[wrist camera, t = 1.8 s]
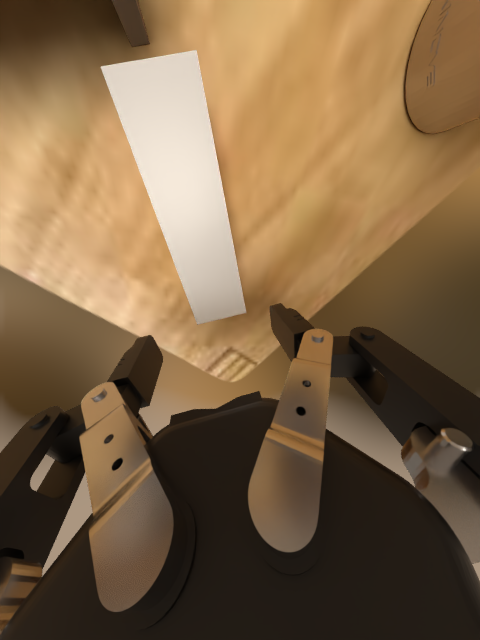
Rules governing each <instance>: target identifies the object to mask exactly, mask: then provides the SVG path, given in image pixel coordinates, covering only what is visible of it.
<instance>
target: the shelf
mask: <svg viewBox="0 0 480 640" xmlns="http://www.w3.org/2000/svg"><path fill="white" fill-rule="evenodd" d="M112 3H113V5H114V7H115V10H116V12H117V14H118V16H119V19H120V21H121V23H122V26H123V28H124V30H125V32H126V35H127V37H128V39H129V42H130V44H131V46H132V47H133V46H139V45H145V44H150V43H149V39H148V36H147V32H146V28H145V24H144V21H143V17H142V13H141V10H140V6H139V2H138V0H112Z"/></svg>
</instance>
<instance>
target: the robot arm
mask: <svg viewBox="0 0 480 640" xmlns="http://www.w3.org/2000/svg"><path fill="white" fill-rule="evenodd" d="M406 103H407V109H408V113H409V115H410V118H411V120H412V122H413V123H414V125H415V126H416V127H417V128H418V129H419V130H421V131H423V132H425V133H432V134H435V133H439V132H443V131H446V130H449V129H451V128H454V127H457V126H459V125H462V124H464V123H467V122H470V121H472V120H475V119H477V118H480V0H432V1H431V3H430V5H429V8H428V10H427V12H426V14H425V16H424V18H423V20H422V22H421V24H420V27H419V30H418V33H417V35H416V38H415V41H414V43H413V47H412V51H411V55H410V59H409V63H408V69H407V77H406ZM270 318H271V327H272V330H273V333H274V335H275V336H276V338H277V339H278V341H279V343H280V344H281V346H282V347H283V349H284V351H285V352H286V354H287V355H288V357H289V359H290V360H291V362H292V363H291V366H290V369H289V372H288V375H287V378H286V382H285V385H284V388H283V391H282V394H281V397H280V400H276V399H271V398H261V395H260V392H259V391H258V392H254V393H251V394H247V395H243V396H240V397H237V398H235V399H233V400H232V401H230V402H228V403H226V404H224V405H222V406H221V407H219V408H216V409H193V410H190V411H186V412H182V413H179V414H175V415H171V420H170V424H169V425H167V426H166V427H164V428H163V429H161V430H160V431H159V432H158V433H156V435H154V436H153V435H152V433H151V432H150V430H149V428H148V427H147V425H146V423H145V421H144V420H143V418H142V417H141V415H140V414H139V413H138V412H139V409H140V408H143V407H146V406H149V405H150V402H151V399H152V395H153V392H154V389H155V386H156V382H157V379H158V376H159V372H160V369H161V366H162V363H163V356H162V353H161V351H160V349H159V347H158V346H157V344H156V342H155V340H154V338H153V337H152V336H151V335H148V336H144V337H140V338H137V340H136V341H135V343H134V345H133V346H132V347H131V348H130V349H129V350H128V351H127V352H126V353H125V354H124V355H123V357H122V359H121V361H120V362H119V363H118V366H116V368H115V370H114V372H113V373H112V374H111V376H110V378H109V379H108V381H107V382H106V383H103V384H101V385H99V386H97V387H95V388H94V389H92V390H91V391H90V392H89V393H88V394H87V395H86V396H85V397H84V398H83V400H82V402H81V404H80V405H78V406H76V407H74V408H72V409H70V410H68V411H66V412H65V411H64V410H63V409H61V408H60V407H58V406H54V407H50V408H48V409H46V410H44V411H42V412H40V413H38V414H37V415H35V416H34V417H33V418H31V419H30V420H29V421H28V422H27V423H26V424H25V425H24V426H23V427H22V428H21V429H20V430H19V432H18V433H17V434H16V435H15V436H14V438H13V439H12V440H11V441H10V442H9V443H8V445H7V446H6V447H5V448H4V449H3V450H2V452H1V453H0V640H480V581H479V579H478V576H477V574H476V572H475V570H474V567H473V565H472V564H474V563H478V562H480V398H479V397H477V396H476V395H474V394H473V393H471V392H470V391H468V390H467V389H465V388H464V387H462V386H461V385H459V384H458V383H456V382H455V381H453V380H452V379H451V378H449V377H448V376H446V375H445V374H443V373H442V372H440V371H439V370H437V369H436V368H434V367H433V366H431V365H430V364H428V363H427V362H425V361H424V360H422V359H421V358H419V357H418V356H416V355H415V354H413V353H412V352H410V351H409V350H407V349H406V348H405V347H403V346H402V345H400V344H398V343H397V342H395V341H394V340H393V339H391V338H390V337H388V336H387V335H385V334H384V333H382V332H381V331H379V330H377V329H374V328H370V327H356V328H354V329H352V330H351V332H350V336H339V337H333V336H332V334H331V333H329V332H328V331H325V330H321V329H315V328H314V327H313V326H312V325H311V324H310V323H309V322H308V321H307V320H306V319H304V317H302V316H301V315H300V314H299V313H298V312H297V311H296V310H293V309H291V308H289V309H286V308H285V307H284V306H283V305H282V304H281V303H279V304H275V305H271V306H270ZM377 370H378V371H379V372H380V373H381V374H382V375H383V376H384V377H385V378H384V377H383V376H382V375H381V374H380V373H379V372H378V371H377ZM330 377H346V378H347V380H348V381H349V382H350V383H351V385H352V386H353V387H354V388H355V389H356V391H357V392H358V393H359V394H360V395H361V397H362V398H363V399H364V400H365V402H366V403H367V404H368V405H369V406H370V408H371V409H372V410H373V411H374V412H375V413H376V415H377V416H378V417H379V419H380V420H381V421H382V422H383V423H384V425H385V426H386V427H387V428H388V429H389V431H390V432H391V433H392V434H393V435H394V437H395V438H396V439H397V440H398V442H399V443H400V444H401V445H402V446H403V447H402V449H401V458H402V460H403V463H404V465H405V467H406V468H407V470H408V472H409V473H410V475H411V477H412V479H413V481H414V484H415V487H414V486H413V485H412V484H410V483H409V482H408V481H406V480H405V479H404V478H402V477H401V476H399V475H398V474H396V473H395V472H393V471H391V470H390V469H388V468H387V467H385V466H383V465H382V464H381V463H379V462H377V461H376V460H374V459H373V458H371V457H369V456H368V455H366V454H365V453H363V452H362V451H360V450H359V449H357V448H356V447H354V446H352V445H351V444H349V443H348V442H346V441H345V440H343V439H341V438H340V437H338V436H337V435H335V434H333V433H332V432H331V431H329V430H327V429H326V418H327V407H328V396H329V385H330ZM45 454H47V455H48V456H50V457H52V458H53V459H55V461H54V463H53V464H52V466H51V468H50V470H49V471H48V473H47V475H46V476H45V478H44V480H43V481H42V483H41V485H40V486H39V488H38V490H37V492H36V491H34V490H32V489H31V487H30V480H31V477H32V475H33V473H34V471H35V470H36V468H37V467H38V465H39V464H40V462H41V461H42V459H43V458H44V456H45ZM85 472H86V477H87V483H88V488H89V494H90V500H91V505H92V511H93V513H92V514H91V515H90V516H89V518H88V519H87V520H86V522H85V523H84V524H83V525H82V527H81V528H80V529H79V531H78V532H77V533H76V534H75V536H74V537H73V538H72V540H71V541H70V542H69V543H68V545H67V546H66V547H65V549H64V550H63V551H62V552H61V554H60V555H59V556H58V558H57V559H56V560H55V561H54V563H53V564H52V565H51V566H50V568H49V569H48V570H47V572H46V573H45V574H44V575H43V577H42V569H43V567H44V565H45V563H46V560H47V558H48V556H49V553H50V551H51V549H52V547H53V544H54V542H55V540H56V537H57V535H58V533H59V531H60V528H61V526H62V524H63V521H64V519H65V517H66V514H67V512H68V510H69V508H70V506H71V503H72V501H73V499H74V496H75V493H76V492H77V490H78V487H79V485H80V483H81V480H82V478H83V476H84V473H85Z"/></svg>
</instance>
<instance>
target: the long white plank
mask: <svg viewBox="0 0 480 640" xmlns="http://www.w3.org/2000/svg"><path fill="white" fill-rule="evenodd" d="M101 70H102V72H103V75H104V78H105V80H106V83H107V86H108V88H109V91H110V94H111V96H112V99H113V101H114V104H115V107H116V109H117V112H118V115H119V117H120V120H121V123H122V125H123V128H124V131H125V133H126V136H127V139H128V141H129V144H130V147H131V149H132V152H133V155H134V157H135V160H136V163H137V165H138V168H139V171H140V173H141V176H142V179H143V181H144V184H145V187H146V189H147V192H148V195H149V197H150V200H151V203H152V205H153V208H154V211H155V213H156V216H157V218H158V221H159V224H160V226H161V229H162V232H163V234H164V237H165V240H166V242H167V245H168V248H169V250H170V253H171V256H172V258H173V261H174V264H175V266H176V269H177V272H178V274H179V277H180V280H181V282H182V285H183V288H184V290H185V293H186V296H187V298H188V301H189V304H190V306H191V309H192V312H193V314H194V317H195V320H196V322H197V325H198V324H202V323H206V322H210V321H215V320H219V319H223V318H227V317H231V316H235V315H239V314H243V313H246V308H245V303H244V298H243V292H242V287H241V282H240V277H239V271H238V266H237V261H236V256H235V250H234V245H233V240H232V235H231V229H230V224H229V219H228V213H227V208H226V203H225V198H224V192H223V187H222V182H221V177H220V171H219V166H218V161H217V156H216V150H215V145H214V140H213V134H212V129H211V124H210V119H209V113H208V108H207V103H206V98H205V92H204V87H203V82H202V77H201V71H200V66H199V61H198V56H197V50H193V51H188V52H182V53H176V54H170V55H164V56H159V57H153V58H147V59H141V60H135V61H130V62H124V63H118V64H112V65H107V66H101Z"/></svg>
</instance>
